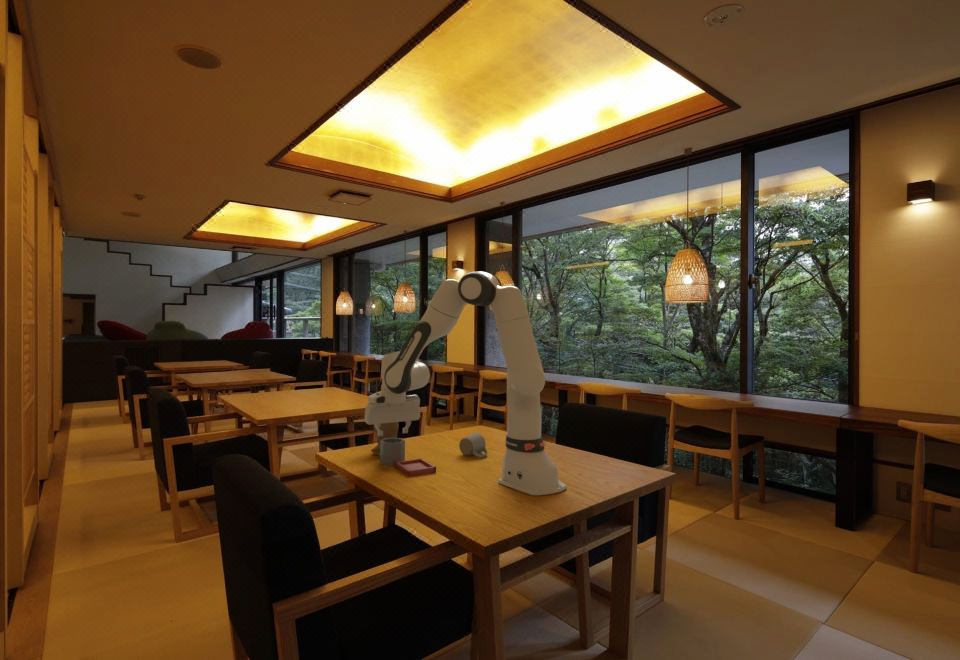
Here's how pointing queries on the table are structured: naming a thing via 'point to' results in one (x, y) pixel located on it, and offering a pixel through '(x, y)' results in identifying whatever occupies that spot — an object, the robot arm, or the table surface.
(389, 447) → the deep cup
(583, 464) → the table surface
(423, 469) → the lacquer tray
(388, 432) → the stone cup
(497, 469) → the table surface
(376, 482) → the table surface
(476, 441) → the ceramic mug
